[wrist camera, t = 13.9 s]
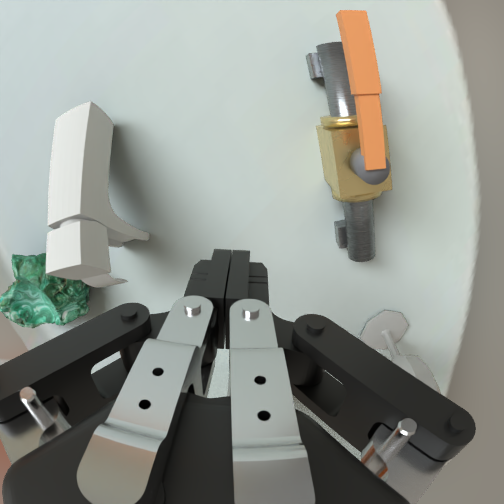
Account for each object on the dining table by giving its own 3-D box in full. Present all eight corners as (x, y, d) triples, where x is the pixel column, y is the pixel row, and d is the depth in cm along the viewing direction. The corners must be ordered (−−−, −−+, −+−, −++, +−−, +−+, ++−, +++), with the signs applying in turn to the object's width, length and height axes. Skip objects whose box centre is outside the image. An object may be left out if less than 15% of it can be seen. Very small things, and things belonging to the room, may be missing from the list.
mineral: (65, 328, 51) (43, 362, 43) (11, 271, 46) (-18, 300, 37) (114, 282, 46) (88, 321, 37) (49, 211, 41) (11, 238, 32)
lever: (379, 175, 30) (393, 184, 26) (351, 178, 30) (362, 188, 27) (358, 19, 22) (370, 10, 19) (327, 20, 23) (335, 10, 19)
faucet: (91, 98, 29) (82, 268, 25) (149, 158, 45) (159, 286, 40) (53, 119, 30) (38, 279, 25) (115, 169, 46) (121, 293, 41)
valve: (373, 237, 42) (393, 265, 35) (333, 245, 43) (347, 275, 35) (347, 48, 30) (369, 37, 23) (300, 53, 31) (311, 40, 24)
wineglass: (414, 319, 49) (463, 411, 30) (383, 352, 52) (417, 445, 34) (383, 301, 47) (433, 402, 28) (350, 337, 50) (381, 440, 32)
